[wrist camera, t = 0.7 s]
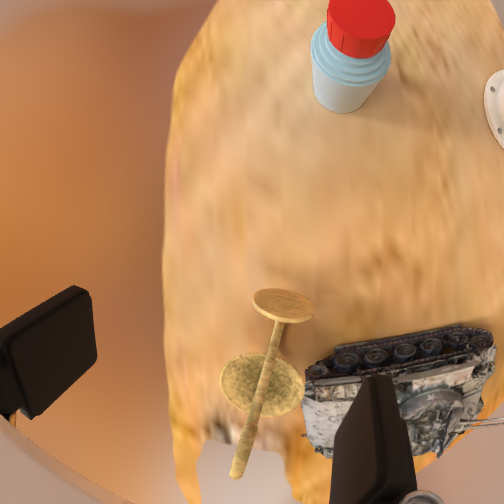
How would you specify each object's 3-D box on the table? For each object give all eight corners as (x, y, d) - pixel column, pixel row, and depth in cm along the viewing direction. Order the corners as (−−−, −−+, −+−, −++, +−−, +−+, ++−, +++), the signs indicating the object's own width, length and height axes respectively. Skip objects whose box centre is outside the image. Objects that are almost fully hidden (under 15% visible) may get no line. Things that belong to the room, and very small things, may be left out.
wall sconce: (253, 270, 40) (169, 407, 16) (326, 287, 38) (327, 448, 15) (236, 356, 44) (170, 498, 20) (299, 372, 42) (273, 526, 19)
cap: (357, 3, 15) (363, -22, 12) (395, 43, 16) (408, 22, 12) (315, 27, 16) (314, 3, 13) (353, 68, 17) (360, 50, 13)
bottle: (343, 54, 30) (362, -37, 12) (377, 95, 31) (433, 33, 12) (302, 82, 32) (285, 3, 14) (336, 123, 33) (357, 78, 14)
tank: (477, 393, 38) (505, 454, 24) (306, 425, 45) (297, 496, 31) (492, 313, 34) (542, 368, 20) (293, 349, 42) (279, 426, 28)
